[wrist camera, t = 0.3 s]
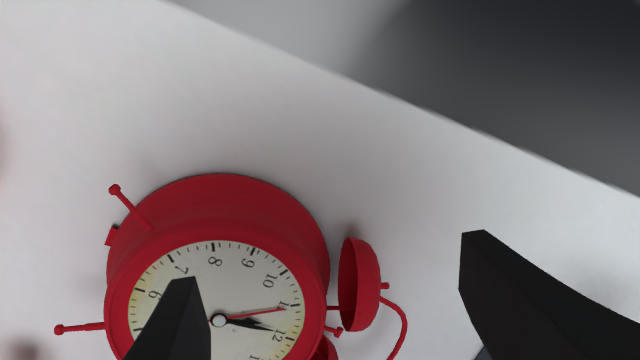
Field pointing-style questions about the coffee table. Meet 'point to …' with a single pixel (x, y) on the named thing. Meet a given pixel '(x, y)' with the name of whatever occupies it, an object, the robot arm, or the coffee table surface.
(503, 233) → the coffee table surface
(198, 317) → the robot arm
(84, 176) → the coffee table surface
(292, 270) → the alarm clock
